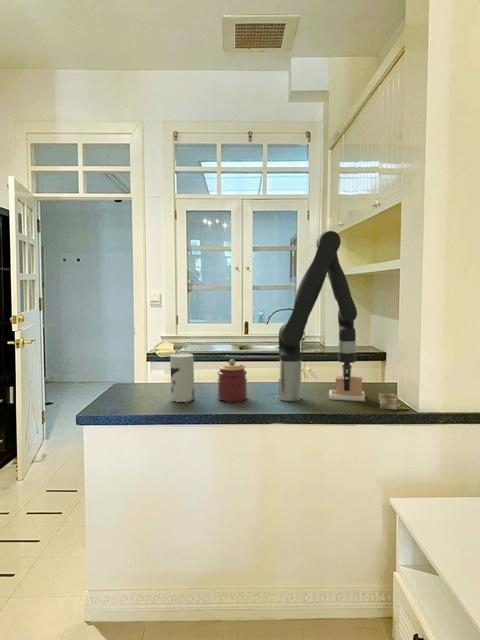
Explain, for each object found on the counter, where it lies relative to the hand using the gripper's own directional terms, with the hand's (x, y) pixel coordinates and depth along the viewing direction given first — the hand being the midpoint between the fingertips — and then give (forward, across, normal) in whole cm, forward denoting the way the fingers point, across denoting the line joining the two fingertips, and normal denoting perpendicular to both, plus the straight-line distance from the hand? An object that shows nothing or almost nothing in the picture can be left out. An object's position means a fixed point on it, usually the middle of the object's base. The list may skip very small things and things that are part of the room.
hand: (346, 388), depth 189 cm
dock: (+4, +10, +17) cm, 20 cm away
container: (+4, +18, -70) cm, 72 cm away
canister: (+4, +12, -49) cm, 50 cm away
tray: (+4, 0, 0) cm, 4 cm away
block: (+2, 0, +1) cm, 2 cm away
